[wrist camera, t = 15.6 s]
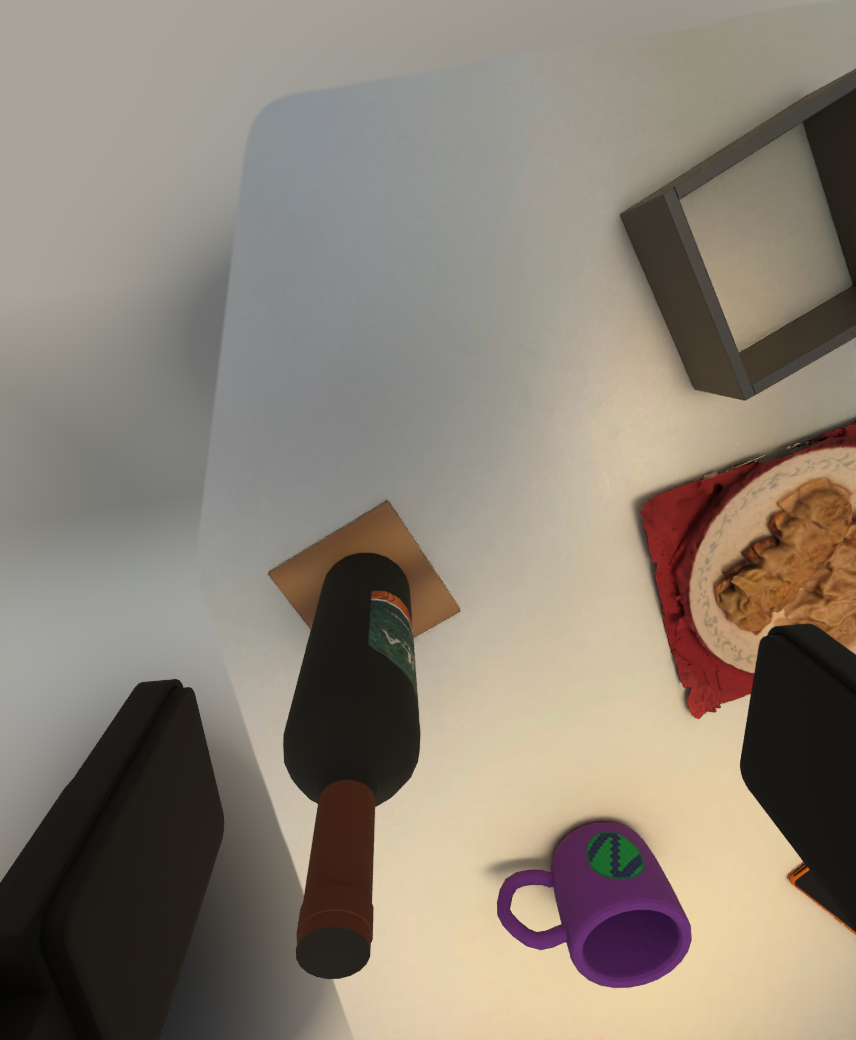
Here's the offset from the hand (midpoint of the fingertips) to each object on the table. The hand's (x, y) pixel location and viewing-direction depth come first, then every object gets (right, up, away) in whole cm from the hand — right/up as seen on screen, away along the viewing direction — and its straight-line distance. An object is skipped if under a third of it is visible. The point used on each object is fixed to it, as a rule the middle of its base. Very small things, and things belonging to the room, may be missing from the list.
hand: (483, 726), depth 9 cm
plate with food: (+33, -1, +43) cm, 54 cm away
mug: (+14, -33, +52) cm, 63 cm away
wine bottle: (-6, -3, +40) cm, 41 cm away
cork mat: (-6, -3, +41) cm, 41 cm away
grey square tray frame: (+23, +23, +33) cm, 47 cm away
